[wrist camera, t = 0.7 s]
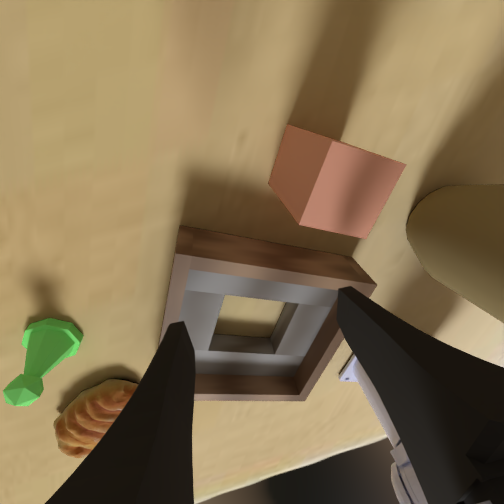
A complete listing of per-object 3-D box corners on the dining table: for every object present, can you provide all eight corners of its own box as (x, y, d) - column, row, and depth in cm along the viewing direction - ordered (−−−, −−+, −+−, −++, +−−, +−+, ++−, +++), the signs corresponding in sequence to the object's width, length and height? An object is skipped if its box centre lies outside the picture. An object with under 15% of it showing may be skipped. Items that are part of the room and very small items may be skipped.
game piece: (19, 318, 21) (-38, 388, 16) (79, 317, 22) (43, 383, 17) (33, 354, 23) (-13, 426, 18) (87, 352, 24) (57, 420, 19)
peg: (340, 141, 18) (406, 164, 12) (317, 195, 20) (366, 239, 14) (287, 123, 17) (332, 140, 11) (268, 183, 19) (298, 224, 13)
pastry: (95, 364, 26) (81, 403, 22) (159, 383, 29) (154, 420, 25) (55, 415, 28) (37, 456, 25) (117, 427, 32) (107, 465, 28)
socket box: (352, 257, 24) (377, 284, 20) (293, 367, 31) (304, 401, 27) (179, 225, 20) (175, 253, 16) (155, 360, 26) (149, 400, 23)
